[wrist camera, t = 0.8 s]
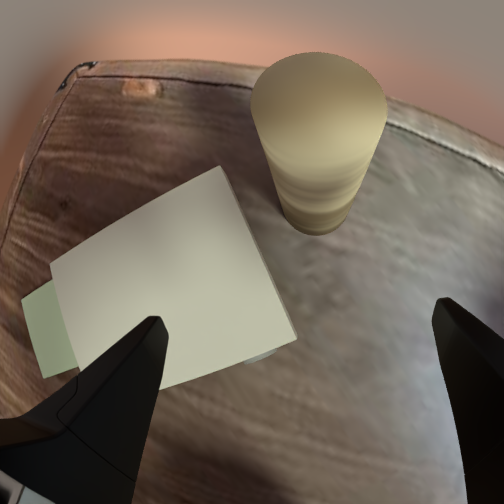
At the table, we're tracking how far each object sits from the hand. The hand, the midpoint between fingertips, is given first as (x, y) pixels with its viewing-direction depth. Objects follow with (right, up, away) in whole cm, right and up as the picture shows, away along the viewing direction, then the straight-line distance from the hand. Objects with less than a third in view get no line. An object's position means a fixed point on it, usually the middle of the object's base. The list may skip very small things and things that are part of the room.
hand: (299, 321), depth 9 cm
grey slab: (-8, -1, +14) cm, 16 cm away
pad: (-20, -5, +16) cm, 26 cm away
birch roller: (+3, +6, +13) cm, 15 cm away
